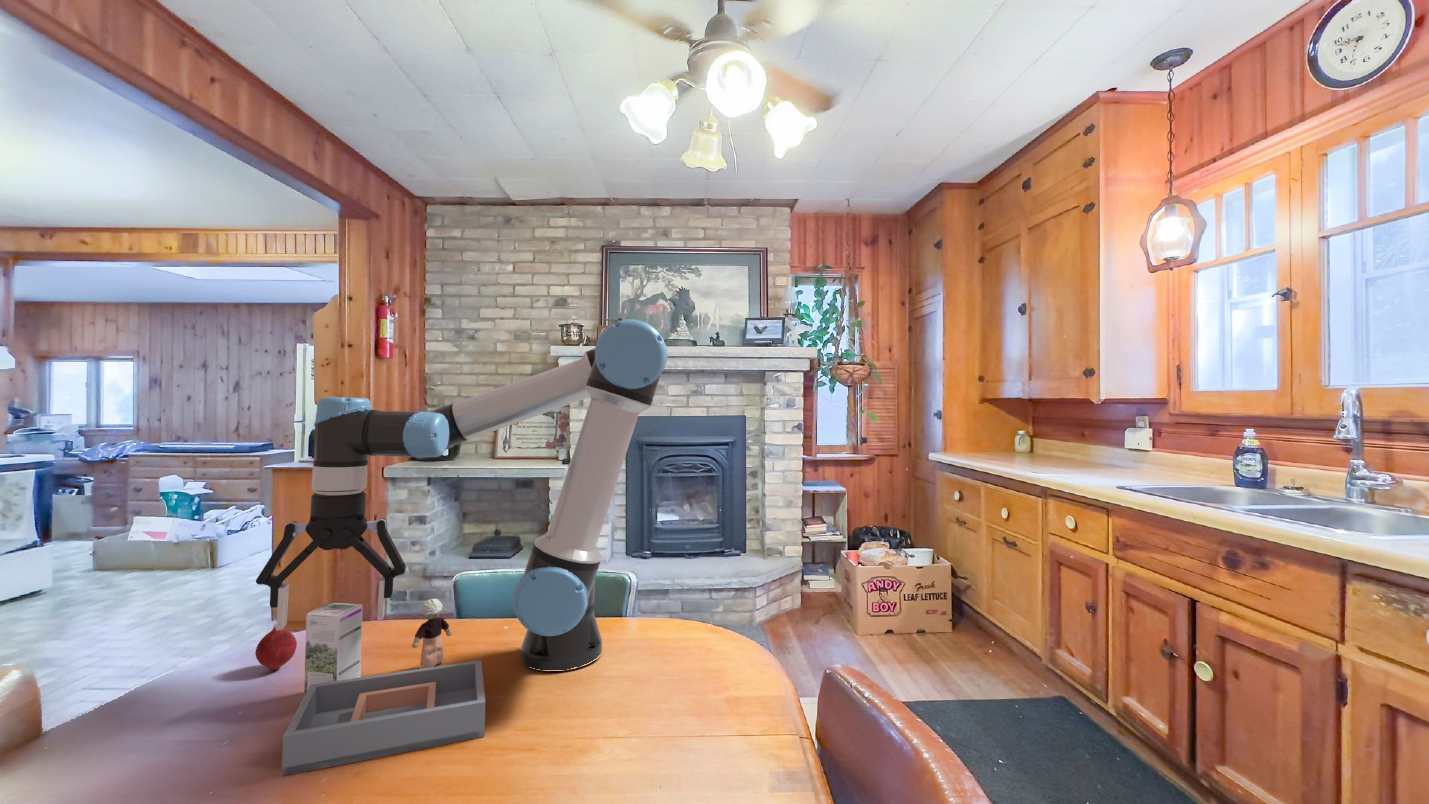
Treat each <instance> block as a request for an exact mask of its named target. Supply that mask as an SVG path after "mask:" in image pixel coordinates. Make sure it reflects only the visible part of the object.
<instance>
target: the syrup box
mask: <svg viewBox="0 0 1429 804" xmlns="http://www.w3.org/2000/svg"><path fill="white" fill-rule="evenodd" d="M362 631H363V604H361V603H346V602H345V603H344V602H343V603H342V602H329V603H327V604H324V605H321V606H319V607H317V608H315V609H313V610H311V611H309V612H308V613H306V618H305V651H304V653H305V658H304V692H303V695H304V696H305V694H306V692H307V690H308V688H309V686H310V685H312V684H319V683H326V682H333V681H339V680H346V679H353V678H360V677H361V675H362V674H361V671H362V667H361V665H362V637H363V636H362V634H363V632H362ZM304 696H303V697H304Z"/></svg>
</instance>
